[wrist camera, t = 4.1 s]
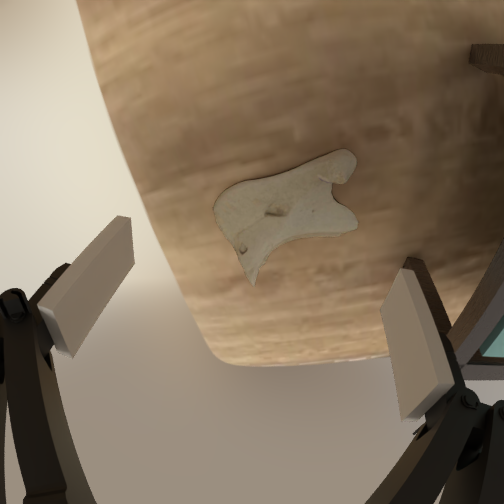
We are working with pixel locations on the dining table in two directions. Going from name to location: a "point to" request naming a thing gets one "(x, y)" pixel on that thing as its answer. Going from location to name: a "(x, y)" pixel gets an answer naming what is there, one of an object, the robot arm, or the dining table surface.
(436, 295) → the frame
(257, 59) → the dining table surface
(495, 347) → the trapdoor
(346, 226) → the fossil
